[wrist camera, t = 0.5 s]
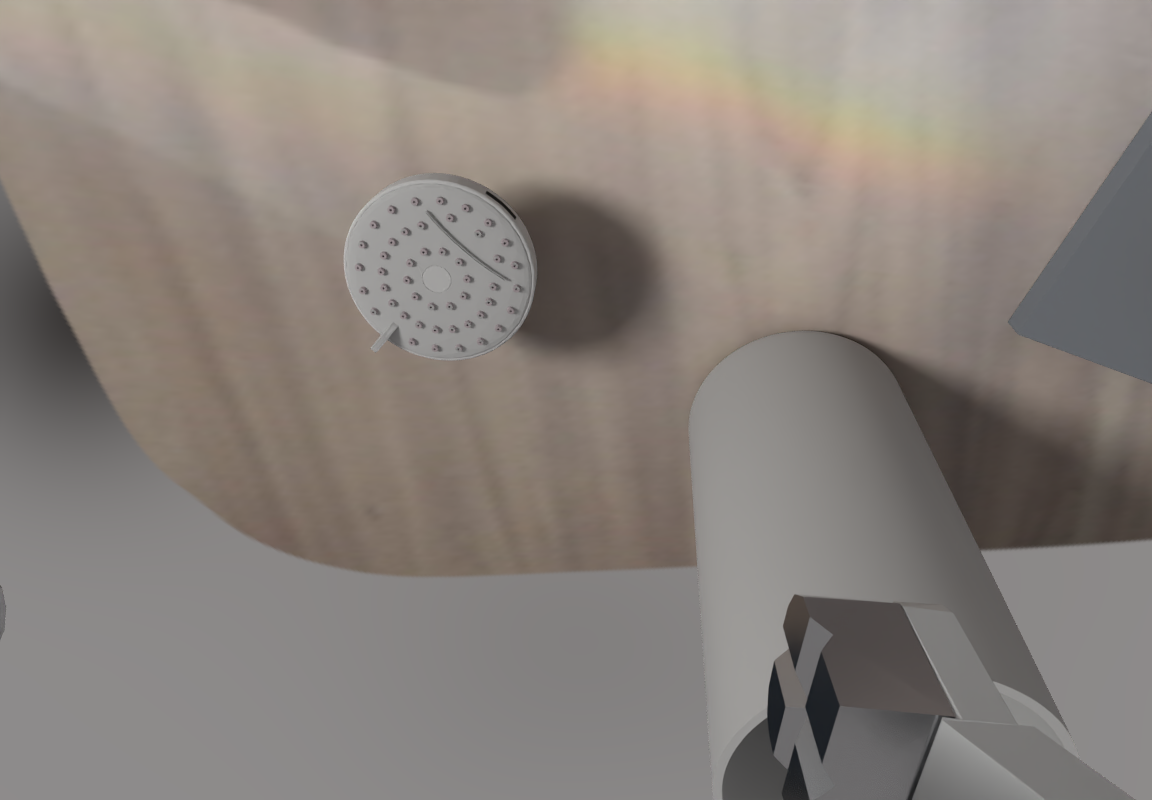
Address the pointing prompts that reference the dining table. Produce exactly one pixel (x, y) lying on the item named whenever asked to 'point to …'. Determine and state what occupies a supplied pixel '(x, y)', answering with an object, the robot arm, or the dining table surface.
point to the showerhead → (440, 267)
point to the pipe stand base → (1102, 274)
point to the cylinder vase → (824, 534)
